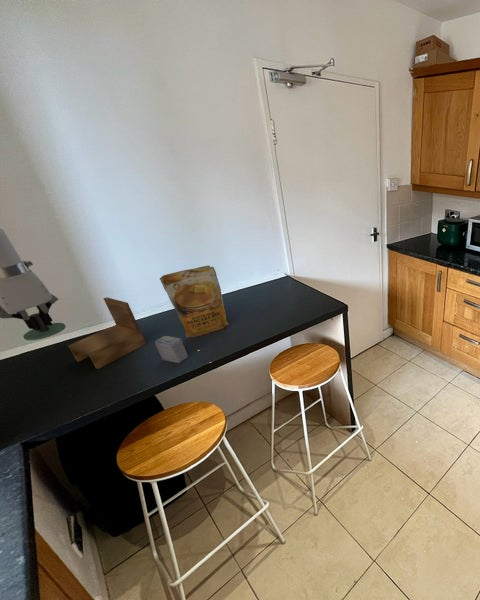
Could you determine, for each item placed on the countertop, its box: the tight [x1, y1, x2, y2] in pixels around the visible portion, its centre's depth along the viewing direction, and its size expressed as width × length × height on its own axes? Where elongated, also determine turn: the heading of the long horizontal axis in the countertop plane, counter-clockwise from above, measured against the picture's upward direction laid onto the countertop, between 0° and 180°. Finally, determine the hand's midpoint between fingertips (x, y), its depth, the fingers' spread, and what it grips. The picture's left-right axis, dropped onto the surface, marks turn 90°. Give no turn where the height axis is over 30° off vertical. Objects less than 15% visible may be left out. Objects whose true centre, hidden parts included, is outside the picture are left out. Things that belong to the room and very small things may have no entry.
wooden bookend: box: [67, 297, 147, 370], centre depth 118 cm, size 17×13×19 cm
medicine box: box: [154, 335, 189, 364], centre depth 117 cm, size 8×4×9 cm, turn 74°
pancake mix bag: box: [159, 265, 229, 339], centre depth 130 cm, size 7×19×28 cm, turn 129°
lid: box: [23, 312, 67, 341], centre depth 94 cm, size 9×9×6 cm
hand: (42, 326), depth 95 cm, fingers closed on lid
